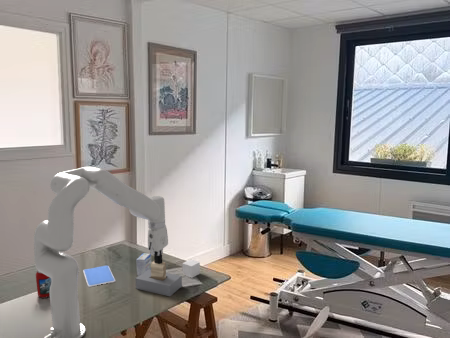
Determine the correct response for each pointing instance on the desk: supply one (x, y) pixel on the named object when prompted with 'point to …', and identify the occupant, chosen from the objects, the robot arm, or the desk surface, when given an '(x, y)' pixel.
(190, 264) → the white cube
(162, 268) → the wooden block
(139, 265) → the medicine box
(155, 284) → the grey slotted block
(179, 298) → the desk surface
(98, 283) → the tablet computer
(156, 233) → the robot arm
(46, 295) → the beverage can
